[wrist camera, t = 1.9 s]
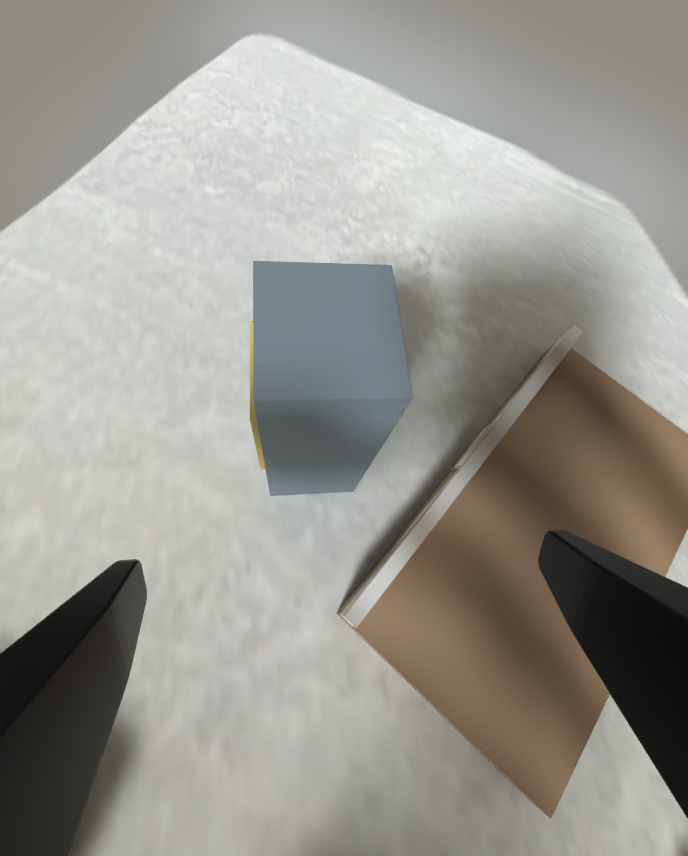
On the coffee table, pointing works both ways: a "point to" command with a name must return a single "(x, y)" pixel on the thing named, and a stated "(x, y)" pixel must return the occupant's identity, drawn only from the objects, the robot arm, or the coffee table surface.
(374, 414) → the tea tin
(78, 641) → the robot arm
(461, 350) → the coffee table surface
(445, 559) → the board
